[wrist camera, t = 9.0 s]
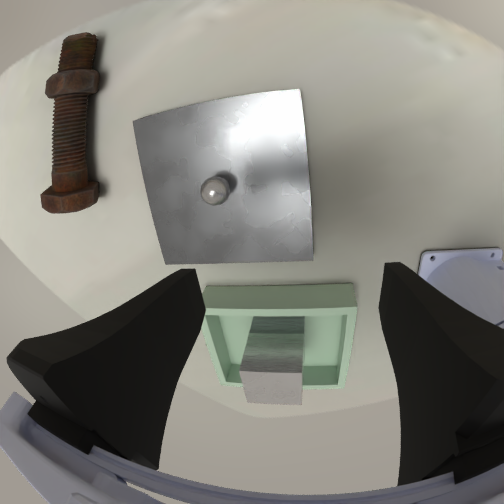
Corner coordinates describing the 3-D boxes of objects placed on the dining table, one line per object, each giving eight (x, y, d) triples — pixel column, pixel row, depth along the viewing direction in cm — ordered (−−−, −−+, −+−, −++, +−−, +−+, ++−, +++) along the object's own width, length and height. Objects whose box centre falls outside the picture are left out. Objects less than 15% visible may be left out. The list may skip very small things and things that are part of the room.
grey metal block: (304, 348, 25) (301, 404, 19) (259, 348, 26) (247, 402, 20) (304, 314, 23) (301, 373, 17) (254, 314, 24) (238, 370, 18)
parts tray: (352, 283, 21) (357, 306, 19) (342, 364, 26) (344, 388, 23) (206, 286, 24) (194, 307, 21) (227, 363, 28) (220, 385, 26)
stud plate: (300, 90, 15) (299, 84, 13) (313, 254, 21) (313, 276, 18) (139, 120, 18) (114, 123, 15) (170, 258, 23) (153, 278, 20)
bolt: (113, 41, 16) (102, 193, 23) (64, 47, 15) (56, 196, 21) (104, 23, 12) (90, 213, 18) (44, 33, 10) (36, 217, 16)
